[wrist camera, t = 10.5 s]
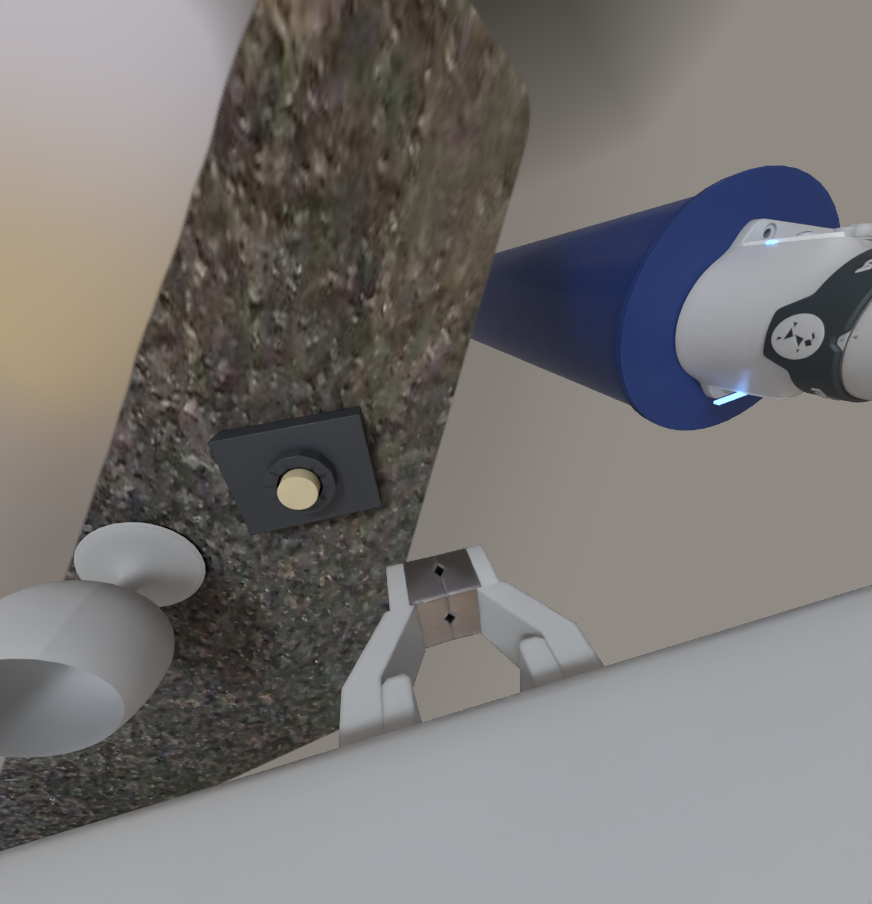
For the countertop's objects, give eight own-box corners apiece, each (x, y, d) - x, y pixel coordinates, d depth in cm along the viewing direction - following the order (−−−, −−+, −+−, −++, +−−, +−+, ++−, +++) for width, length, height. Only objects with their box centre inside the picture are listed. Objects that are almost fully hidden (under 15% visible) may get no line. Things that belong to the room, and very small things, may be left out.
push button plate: (359, 405, 35) (359, 420, 31) (380, 494, 40) (382, 516, 36) (217, 431, 34) (198, 450, 30) (257, 520, 39) (246, 547, 35)
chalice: (81, 493, 34) (-101, 626, 20) (232, 536, 39) (166, 664, 25) (53, 594, 37) (-116, 761, 24) (194, 620, 43) (119, 770, 29)
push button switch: (314, 464, 33) (311, 473, 31) (324, 495, 34) (322, 505, 33) (275, 472, 32) (271, 481, 31) (287, 503, 34) (284, 513, 32)
